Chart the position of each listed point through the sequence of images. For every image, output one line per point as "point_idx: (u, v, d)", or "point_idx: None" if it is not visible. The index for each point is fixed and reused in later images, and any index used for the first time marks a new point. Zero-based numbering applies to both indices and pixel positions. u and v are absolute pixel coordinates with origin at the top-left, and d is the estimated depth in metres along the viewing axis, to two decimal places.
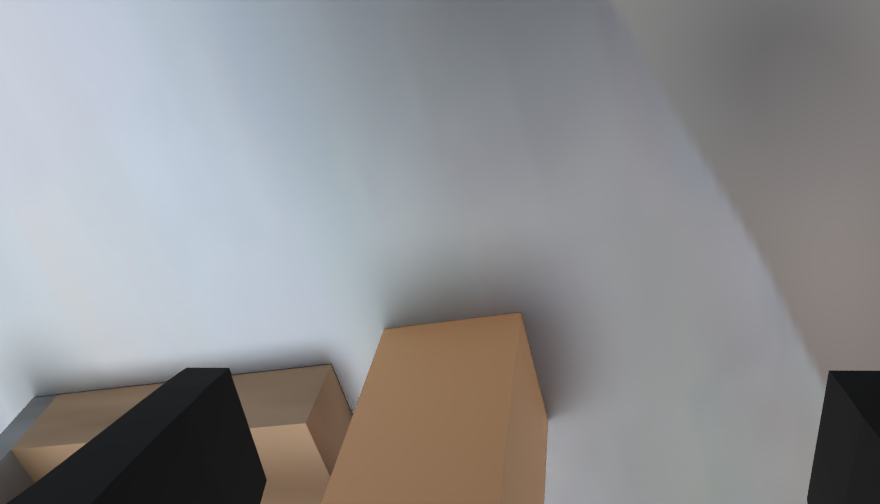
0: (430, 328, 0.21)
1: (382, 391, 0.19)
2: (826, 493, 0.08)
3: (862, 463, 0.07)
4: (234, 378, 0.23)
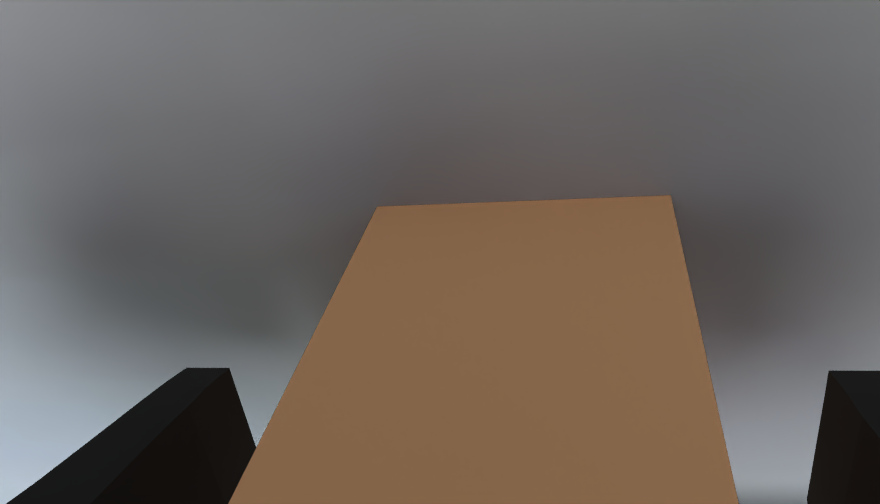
0: None
1: None
2: (826, 493, 0.08)
3: (862, 463, 0.07)
4: None
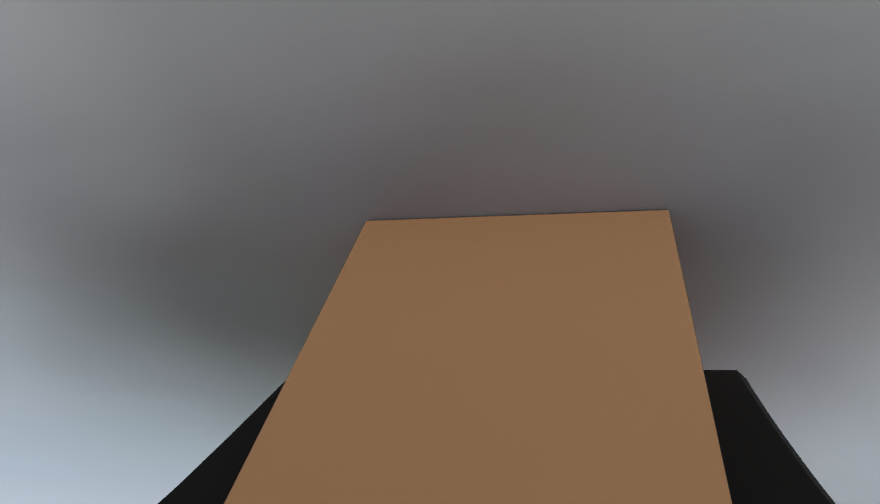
0: None
1: None
2: None
3: None
4: None
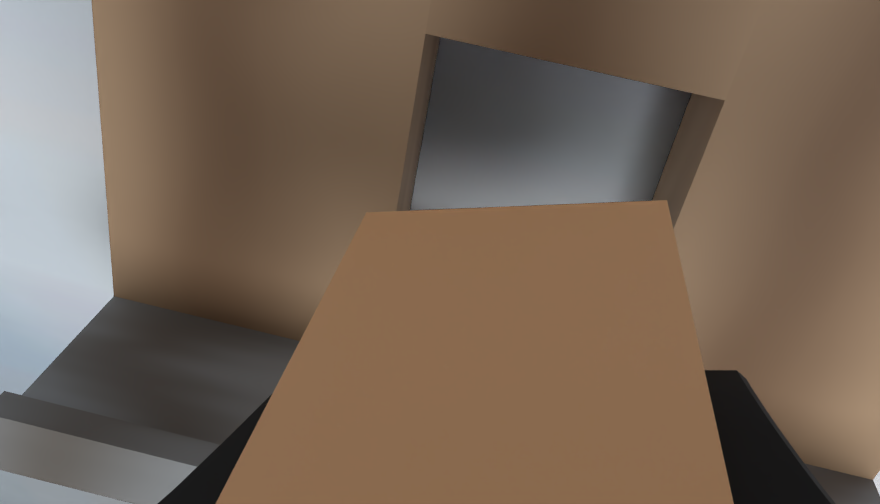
0: None
1: None
2: None
3: None
4: None
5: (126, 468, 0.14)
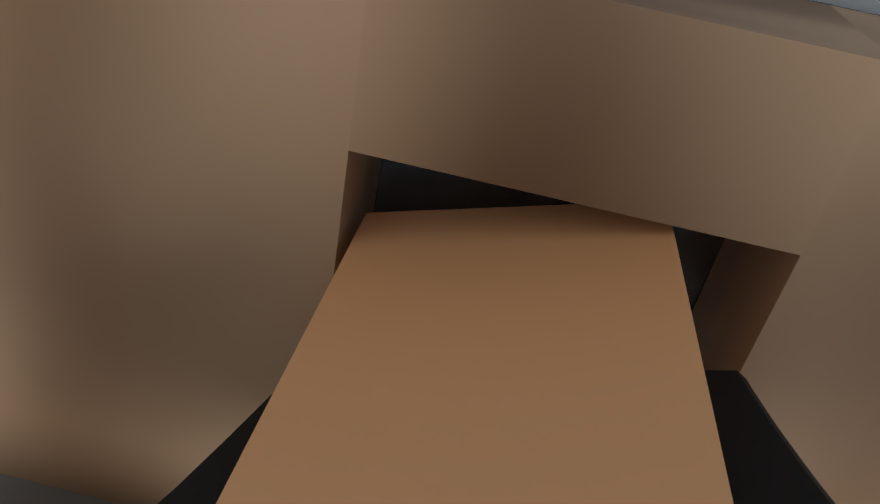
0: None
1: None
2: None
3: None
4: None
5: None
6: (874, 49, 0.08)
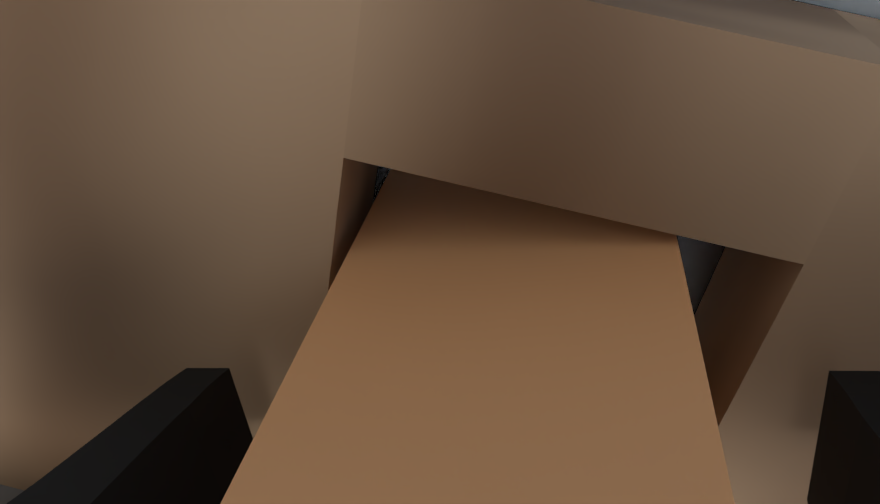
0: None
1: None
2: (826, 493, 0.08)
3: (862, 463, 0.07)
4: None
5: None
6: (879, 55, 0.08)
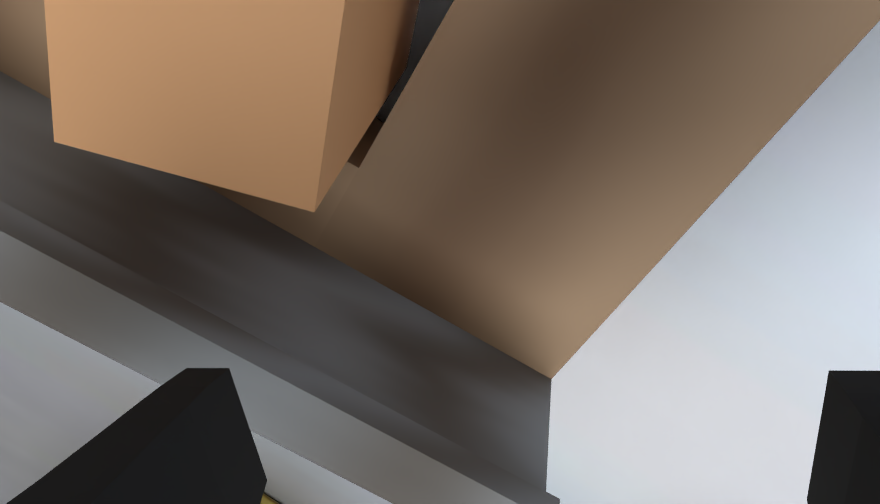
0: None
1: None
2: (826, 493, 0.08)
3: (862, 463, 0.07)
4: None
5: None
6: None
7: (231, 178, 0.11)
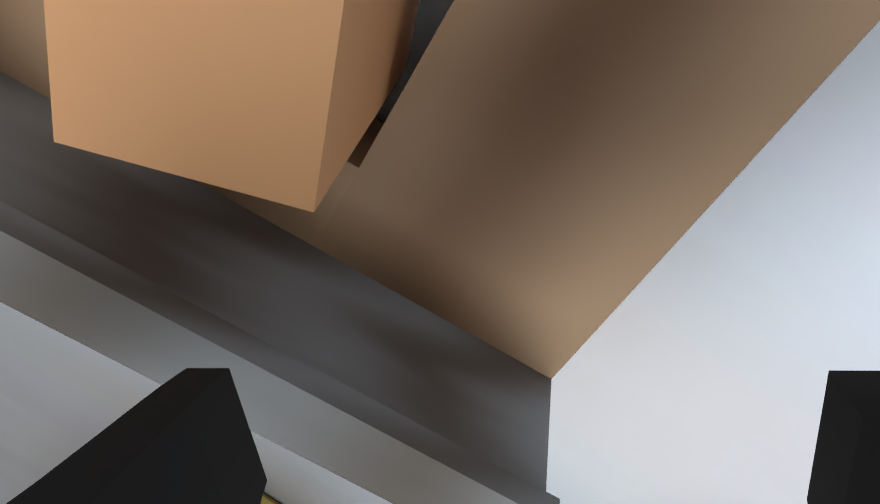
0: None
1: None
2: (826, 493, 0.08)
3: (862, 463, 0.07)
4: None
5: None
6: None
7: (231, 178, 0.11)
